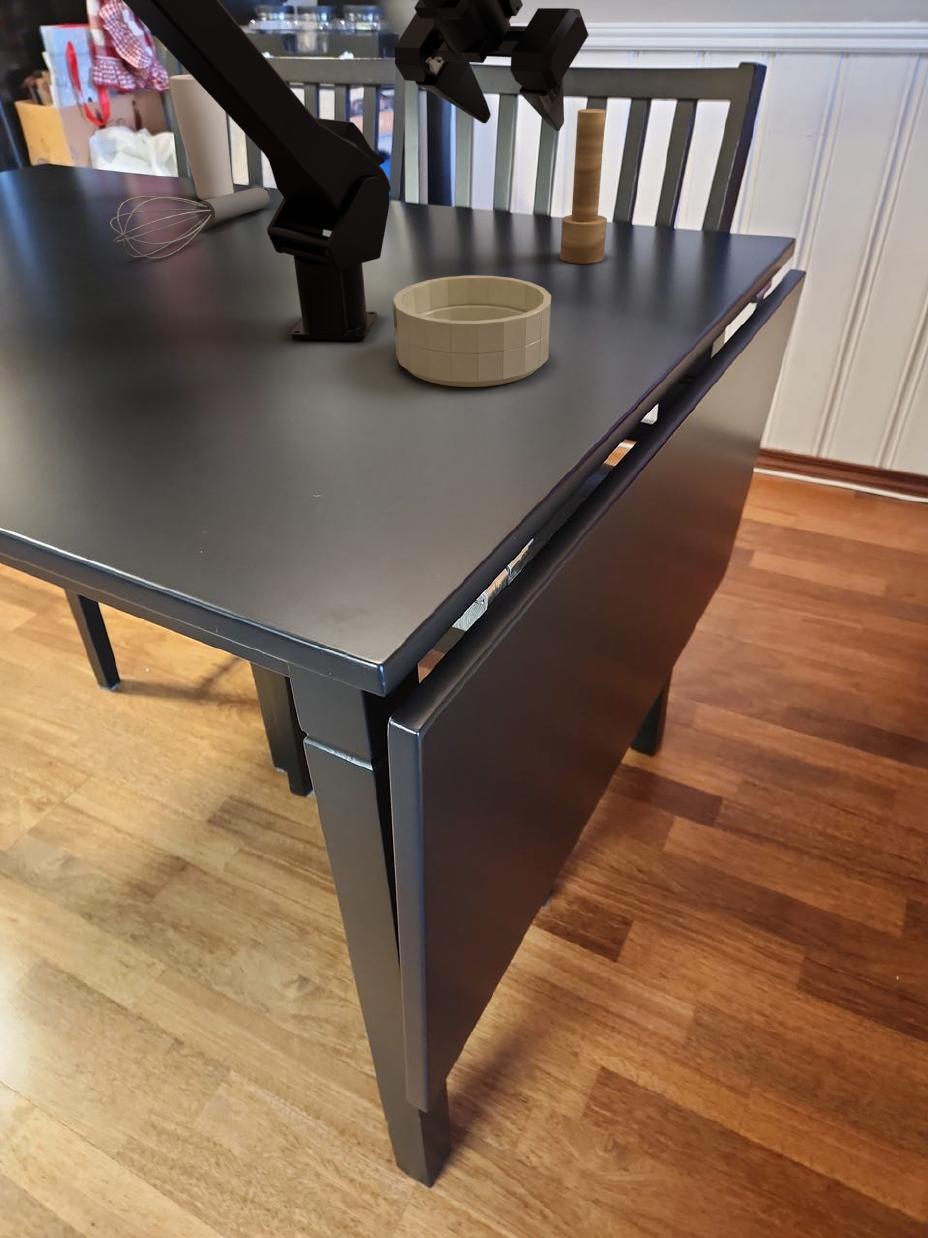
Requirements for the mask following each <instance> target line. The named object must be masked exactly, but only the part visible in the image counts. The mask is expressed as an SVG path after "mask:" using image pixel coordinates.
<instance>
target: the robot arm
mask: <svg viewBox="0 0 928 1238" xmlns="http://www.w3.org/2000/svg"><path fill="white" fill-rule="evenodd" d="M122 2H123V3H124V4H125V5H126V6H127V7H128V8H129V10H130V11H132V13H133V14H134V15H135V16H136V17H137V18H138V19H139V20H140V21H141V23H143V24H144V26H145V27H146V28H147V29H148V30H149V31H150V32H151V33H152V35H154V36H155V38H156V39H157V40H158V41H159V42H160V43H161V44H162V45H163V46H164V47H165V48H166V49H167V50H168V52H169V53H170V54H171V55H172V56H173V57H174V58H175V59H176V60H177V61H178V62H179V64H181V66H182V67H183V68H184V69H185V70H186V72H188V73H189V74H191V75H192V76H193V77H194V78H195V79H196V81H197V82H198V83H199V84H200V85H201V86H202V87H203V88H204V89H205V90H206V91H207V92H208V94H209V95H210V96H211V97H212V98H213V99H214V100H215V101H216V102H217V103H218V104H219V105H220V107H221V108H222V109H223V110H224V111H225V113H226V115H228V117H229V118H230V119H231V120H232V121H233V122H234V124H236V125H237V126H238V127H239V129H241V131H242V132H243V133H244V134H245V135H246V136H247V137H248V138H249V139H250V140H251V141H252V143H253V144H254V145H255V146H256V147H258V149H259V150H260V151H261V152H262V153H263V154H264V156H265V158H266V159H267V161H268V163H269V166H270V169H271V173H272V176H273V179H274V183H275V186H276V188H277V190H278V191H279V193H280V194H281V196H282V197H283V198H282V199H281V202H280V203H279V205H278V207H277V209H276V211H275V213H274V215H273V216H272V218H271V221H270V222H269V224H268V226H267V227H266V232H267V235H268V238H269V239H270V242H271V243H272V246H273V248H274V251H275V252H276V253H278V254H286V255H290V256H293V262H294V263H293V264H294V269H295V277H296V285H297V292H298V299H299V300H298V301H299V306H300V314H301V320H300V321H299V322H298V323H297V324H296V325H295V327H294V328H293V329H292V330H291V332H290V336H291V339H294V340H329V341H330V340H331V341H332V340H334V341H335V340H336V341H363V340H365V339H366V338H367V336H368V335H369V332H370V331H371V329H372V328H373V326H374V324H375V322H376V321H377V319H378V312H377V311H372V310H371V311H367V302H366V291H365V279H364V269H363V268H364V267H363V264H364V263H368V262H371V261H375V260H378V259H380V258H381V255H382V252H383V251H382V250H383V245H384V239H385V232H386V227H387V222H388V217H389V216H388V215H389V209H390V204H391V203H390V200H391V198H390V192H391V189H392V185H391V183H390V179H389V177H388V176H387V175H388V174H386V171H385V170H384V168H383V167H382V166H381V165H383V164H384V163H385V161H386V159H385V157H384V156H381V155H379V154H377V153H376V152H375V151H374V150H373V148H372V147H371V146H370V144H369V142H368V141H367V139H366V138H365V137H366V136H364V133H363V132H362V130H361V129H360V128H359V127H358V126H357V125H356V124H355V123H354V122H353V121H346V120H337V119H330V118H320V117H314V116H313V114H312V113H311V112H310V110H309V109H308V108H307V107H306V106H305V105H304V104H303V103H304V102H302V101H301V99H300V98H299V97H298V96H297V95H296V93H295V92H294V91H293V90H292V88H291V87H290V86H289V85H288V84H287V82H286V81H285V80H284V79H283V77H282V76H281V75H280V74H279V73H278V71H277V70H276V69H275V68H274V66H273V65H272V64H271V63H270V62H269V61H268V59H267V57H266V56H265V55H264V54H263V53H262V52H261V50H260V49H259V48H258V46H257V45H256V44H255V43H254V42H253V41H252V39H251V38H250V37H249V36H248V35H247V34H246V32H245V31H244V29H243V28H242V27H241V26H240V25H239V24H238V22H237V21H236V20H235V19H234V17H233V16H232V15H231V14H230V13H229V11H228V10H227V9H226V7H225V6H224V5H223V4H222V3H221V1H220V0H122ZM523 6H524V4H523V2H522V0H417V2H416V4H415V5H414V7H413V8H414V10H415V14H414V15H413V16H412V18H411V19H410V21H409V22H408V25H407V27H406V28H405V29H404V32H403V33H402V34H401V36H400V38H399V40H398V41H397V43H396V44H395V46H394V65H395V67H396V69H397V70H398V71H399V73H400V75H401V77H402V78H403V80H404V82H405V81H406V82H407V81H408V82H415V84H416V86H417V87H419V88H422V89H425V90H427V91H429V92H431V93H433V94H434V95H436V96H437V97H439V98H441V99H442V100H445V101H446V102H448V103H449V104H450V105H453V106H454V107H456V108H457V109H459V110H461V111H463V112H464V113H466V115H468V116H470V117H472V118H473V119H475V120H477V121H478V122H479V123H481V124H487V123H488V122H489V120H490V118H491V117H492V114H491V111H490V108H489V105H488V102H487V100H486V97H485V94H484V93H483V90H482V88H481V85H480V83H479V81H478V79H477V77H476V74H475V72H474V70H473V68H472V65H471V63H472V64H473V63H474V64H484V63H485V61H486V59H487V58H488V57H489V58H490V57H493V58H510V67H509V68H510V69H509V70H510V73H511V74H512V77H513V79H514V81H515V82H516V83H518V84H519V85H520V86H521V87H520V89H519V90H518V93H519V94H520V95H521V96H522V97H523V98H524V99H525V101H526V102H527V103H528V104H529V105H530V106H531V107H532V108H533V109H534V111H535V112H536V113H537V114H538V115H539V116H540V117H541V118H542V119H543V121H544V122H545V123H546V124H547V125H548V126H549V127H550V128H551V129H553V130H554V132H560V131H561V129H562V127H563V125H564V124H565V104H564V103H565V102H564V101H565V100H564V99H565V98H564V97H565V96H564V77H565V75H566V74H567V71H568V70H569V69H570V67H571V65H572V64H573V62H574V60H575V58H576V57H577V55H578V53H579V52H580V50H581V49H582V47H583V46H584V44H585V42H586V40H587V39H588V38H589V31H588V29H587V26H586V24H585V20H584V18H583V16H582V12H581V11H580V9H579V8H572V7H538V8H537V9H536V10H535V12H534V14H533V16H532V17H531V18H530V20H529V22H528V24H527V25H511V24H512V23H511V22H510V20H511V19H512V17H516V16H518V14H519V13H520V10H521V9H522V7H523ZM324 231H328V232H331V233H330V234H329V236H328V235H324Z"/></svg>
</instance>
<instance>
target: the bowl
mask: <svg viewBox="0 0 928 1238" xmlns="http://www.w3.org/2000/svg"><path fill="white" fill-rule="evenodd" d="M551 308H552V294H551V293H550V292H549V291H548V290H547V289H546V288H544V287H542V286H540V285H538V284H535V283H533V282H530V281H527V280H521V279H518V278H514V277H506V276H497V275H459V276H455V275H454V276H444V277H439V278H434V279H427V280H424V281H421V282H416V283H414V284H411V285H408V286H406V287H404V288H403V289H401V290H399V291H398V292H396V293H395V295H394V297H393V298H392V313H393V314H392V315H393V326H394V338H395V339H394V342H395V343H394V344H395V356H396V358H397V361H398V364H399V365H400V366H401V367H403V368H404V369H406V370H407V372H409V373H410V374H411V375H413V376H414V377H416V378H418V379H419V380H422V381H425V382H429V383H433V384H437V385H442V386H448V387H459V388H480V387H482V388H483V387H492V386H499V385H505V384H509V383H512V382H517V381H520V380H523V379H525V378H527V377H529V376H531V375H532V374H534V373H535V372H536V371H537V370H538V369H540V368H541V367H542V365H544V364H545V363H546V362H547V361H549V354H550V353H549V352H550V334H551V333H550V332H551V331H550V330H551V312H552V311H551Z"/></svg>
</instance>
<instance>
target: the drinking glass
mask: <svg viewBox="0 0 928 1238" xmlns="http://www.w3.org/2000/svg"><path fill="white" fill-rule="evenodd" d="M168 80H169V89H170V93H171V98H172V105H173V108H174V109H173V110H174V113H175V116H176V122H177V124H178V129H179V132H180V135H181V139H182V143H183V146H184V150H185V153H186V157H187V161H188V166H189V169H190V172H191V176H192V180H193V184H194V190H195V194H196V197H197V199H199V200H200V201H203V200H208V199H212V198H216V197H220V196H224V195H228V194H232V193H235V190H234V184H233V178H232V176H233V175H232V167H231V157H230V146H229V134H228V123H227V113H226V112H225V111H224V110H223V109H222V108H221V107H220V105H219V104H218V103H217V102H216V101H215V100H214V99H213V98H212V97H211V96H210V95H209V94H208V92H207V91H206V90H205V89H204V88H203V87H202V86H201V85H200V84H199V83H198V82H197V81H196V79H195V78H194V77H193V76H192V75H191V74H190V73H189V74H179V75H177V74H176V75H171V76H169V77H168Z"/></svg>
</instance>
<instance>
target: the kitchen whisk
mask: <svg viewBox="0 0 928 1238" xmlns="http://www.w3.org/2000/svg"><path fill="white" fill-rule="evenodd" d="M267 190H268V191H267ZM270 196H271V190H270V188H269V187H267V186H262V187H252V188H248V189H244V190H241V191H236V192H234V193H232V194H228V195H224V196H220V197H216V198H212V199H208V200H200V201H199V202H197V201H194V200H191V199H188V198H187V199H185V198H181V197H174V196H155V195H143V196H141V195H140V196H136V197H130V198H128V199H127V200H125V201H123V202H121V204H120V206H119V207H118V209H117V216H115V217H112V218H111V220H110V222H109V225H110V227H111V228H112V230H113V231H115V232H117V234H119V236H117V237H115V238H114V239H113V241H112V242H113V243H120V242H123V248H124V251H125V253H126V254H127V255H128V256H130V257H132V258H144V257H145V258H147V259H150V260H154V259H155V260H156V259H164V258H166V257H169V256H171V255H174V254H175V253H177V252H178V251H180V250H181V249H183V248H184V247H185V246H187V244H189V243H190V242H191V241H192V240H193V239H194V238H195V237H196V236H197V234H198V233H199V232H200V231H201V230H202V229H203V228H204V226H205V225H212V224H215V223H219V222H222V221H226V220H229V219H233V218H235V217H238V216H242V215H246V214H250V213H252V212H256V211H259V210H263V209H265V208H266V207H267V206H268V205H269V204H270ZM141 198H142V199H144V198H145V199H146V198H150V199H148V200H145V201H142V202H141V203H140V204H138V205H137V206H136V207H135V208H134V209H133V210H132V211H131V212H128V213H122V214H120V210H121V209H122V206H123V205H125V204H126V203H128V202H130V201H132V200H135V199H141ZM159 199H164V200H170V201H171V200H172V201H177V202H181V203H185V204H189V205H193V206H196V207H195V208H192V209H191V208H187V209H186V208H183V209H182V208H176V209H152V210H140V211H139V210H138V211H137V209H139V208H140V207H141V206H142V205H144V204H147V203H148V202H150V201H155V200H159ZM173 211H175V212H176V211H177V212H179V211H181V212H182V211H188V212H182V213H177V214H173V215H169V216H166V217H162V218H159V219H156V220H154V221H150V222H148V223H147V222H146V223H144V224H142V225H140V226H137V227H134V228H133V229H130V230H128V231H127V227H128V223H129V221H130V220H131V217H132V215H133V214H141V213H150V212H151V213H153V212H173ZM194 213H196V215H195V216H192V217H189V218H186V219H183V220H181V221H177V222H175V223H172V224H168V225H166V226H163V227H159V228H156V229H153V230H150V231H146V232H144V233H140V234H137V235H134V236H131V237H130V236H128V235H127V234H130V233H131V232H133V231H136V230H138V229H141V228H143V227H146V226H148V225H151V224H154V223H157V222H161V221H164V220H167V219H169V218H174V217H179V216H183V215H188V214H194ZM127 215H129V216H128V218H127V219H126V222H125V226H124V231H123V228H122V226H121V223H120V217H125V216H127ZM195 218H198V219H199V222H197V223H196V224H194V225H193V226H192V227H190V228H189V229H188V230H187V231H185V232H184V233H183V234H181V235H180V236H178V237H177V238H175V239H174V240H170V241H165V242H148V241H143V240H140V239H136V238H138V237H141V236H145V235H148V234H151V233H155V232H158V231H160V230H163V229H167V228H170V227H172V226H175V225H178V224H181V223H184V222H187V221H190V220H192V219H193V220H194V219H195ZM115 219H117V224H118V227H119V229H120V231H119V230H118V229H116V228H114V226H113V224H112V223H113V221H114V220H115ZM198 225H199V226H198ZM197 226H198V227H197ZM195 227H197V228H195ZM194 228H195V229H194ZM193 229H194V230H193ZM192 230H193V231H192ZM189 232H190V233H189ZM193 234H194V235H193ZM191 235H192V237H190V236H191ZM122 237H123V239H120V238H122ZM187 237H190V239H188V240H187V241H186V242H185V243H184V244H183V245H181V247H179V248H178V249H176V250H174V251H172V252H171V253H169V254H165V255H162V256H154V257H152V256H150V255H153V254H155V253H158V252H159V251H161V250H163V249H165V248H166V247H168V246H170V245H171V244H173V243H175V242H178V241H182V240H183V239H185V238H187ZM129 240H133V241H135V242H138V243H141V244H147V245H164V246H162V247H160V248H159V249H157V250H156V249H155V251H152V252H150V253H147V254H142V253H141V252H140V251H138V250H137V249H136V248H135V247H134V246H133V245H132V244H131V242H130V241H129ZM126 242H127V243H128V245H129V246H130V248H131V249H132V250H133V251H134V252H136V253H137V254H139V255H132V254H130V253H129V252H128V250H127V248H126Z"/></svg>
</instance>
